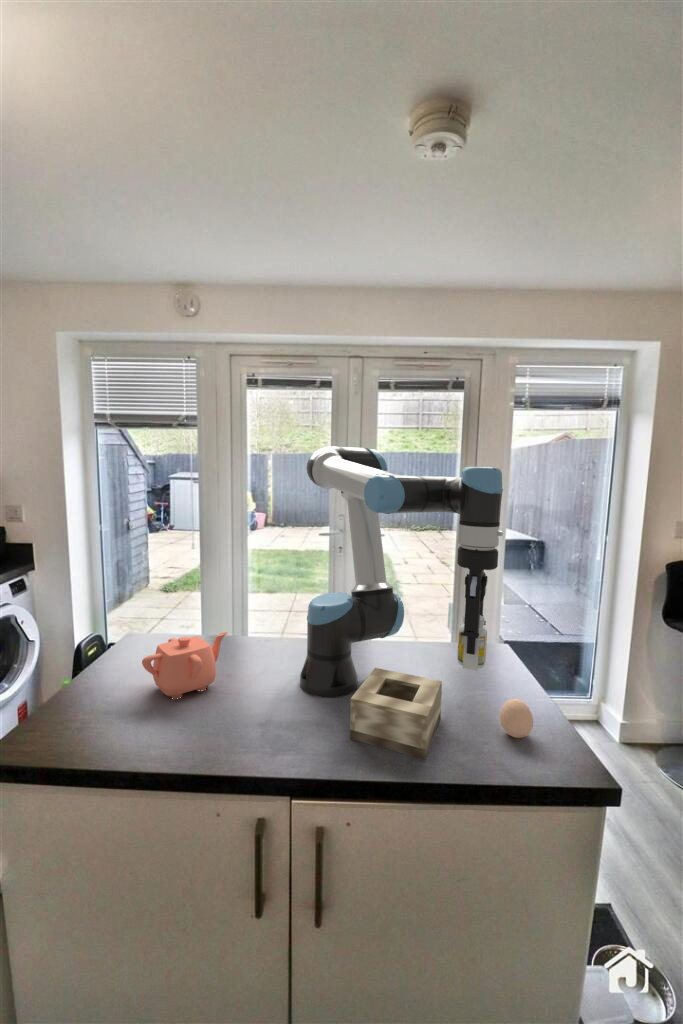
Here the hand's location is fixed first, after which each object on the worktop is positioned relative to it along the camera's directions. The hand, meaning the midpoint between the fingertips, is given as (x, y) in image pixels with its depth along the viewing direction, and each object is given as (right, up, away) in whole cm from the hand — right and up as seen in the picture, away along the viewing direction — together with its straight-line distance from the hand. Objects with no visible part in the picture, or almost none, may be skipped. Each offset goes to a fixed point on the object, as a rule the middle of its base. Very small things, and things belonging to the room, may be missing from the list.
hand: (471, 662), depth 86 cm
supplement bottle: (0, -1, 0) cm, 1 cm away
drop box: (-14, -18, +9) cm, 24 cm away
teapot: (-65, -15, +25) cm, 72 cm away
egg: (+12, -19, +7) cm, 23 cm away
